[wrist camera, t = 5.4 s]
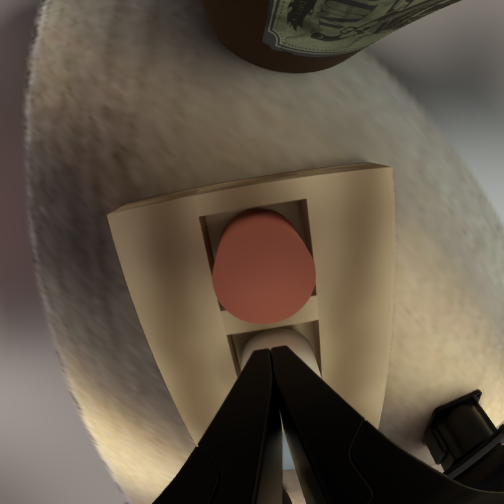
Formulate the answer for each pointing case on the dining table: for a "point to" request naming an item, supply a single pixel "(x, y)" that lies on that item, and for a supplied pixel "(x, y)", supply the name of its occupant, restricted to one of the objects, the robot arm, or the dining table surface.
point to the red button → (262, 268)
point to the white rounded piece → (280, 338)
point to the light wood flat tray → (304, 321)
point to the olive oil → (309, 28)
